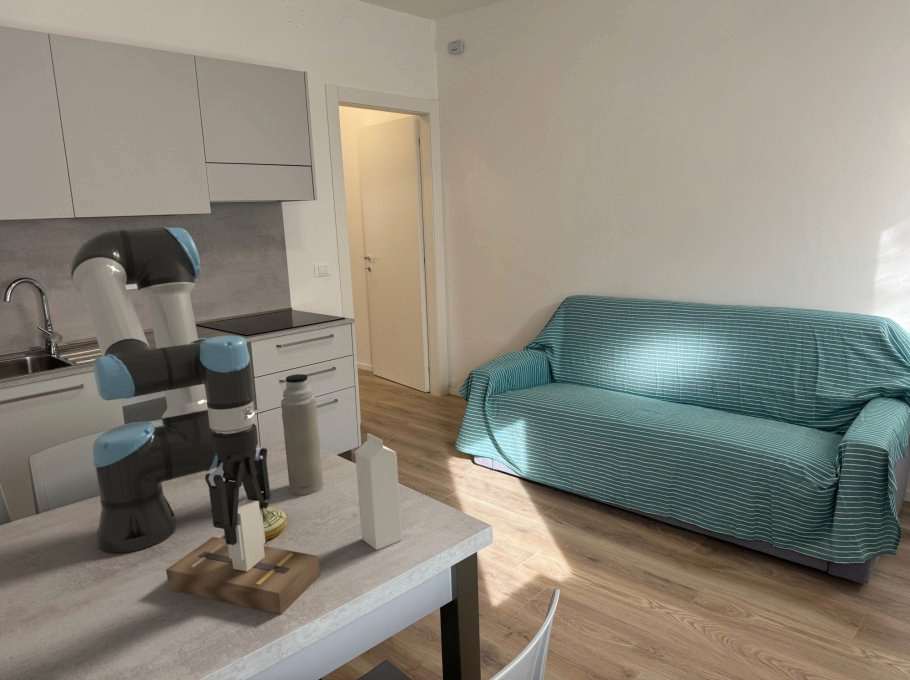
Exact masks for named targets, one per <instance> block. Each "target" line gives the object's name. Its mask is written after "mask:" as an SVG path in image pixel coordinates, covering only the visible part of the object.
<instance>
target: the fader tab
mask: <svg viewBox="0 0 910 680" xmlns="http://www.w3.org/2000/svg"><path fill="white" fill-rule="evenodd" d="M229 520H230V519H229ZM237 524H241V530H242V538H243V547H244V555H245V559H244V560H242V561H241V560H236V559H232V562H233V569H237V570H242V571H249V570H250V569H251V568H252V567H253V566H255V565H256V564H257V563H258V562H259V561H261V560H262V559H263V558H264V557H265V553H264V546H265V545H264V544H265V543H264V544H263V535H262V526H261V517H260V508H259V501H255V500H248V498H245V499H243V500H240V502H238V516H237Z"/></svg>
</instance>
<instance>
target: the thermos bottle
mask: <svg viewBox="0 0 910 680" xmlns="http://www.w3.org/2000/svg"><path fill="white" fill-rule="evenodd" d="M307 380H308V375H307V374H303V373H297V374H292V375H288V376H286V377H285V381H286V382H285V383H286V384H285V387H286V388H285V389H284V390H283V392H282V393H283V394H282V400H281V401H280V405H281V406H280V407H281V415H282V425H283V434H284V435H283V436H284V445H285V455H286V465H287V475H288V484H289V485H288V486H289V492H290V493H292V494H294V495H300V496H303V495H304V496H305V495H310V494H313V493H314V494H315V493H318V492H319V491H320V490H322V489H323V487H324V478H323V477H324V475H323V467H322V459H321V443H320V433H319V432H320V431H319V422H318V420H319V419H318V410H317V408H318V407H317V398H316V397H315V396H314V395H313V394H314V392H313V389H312V387H310V386H308V385H309V384H308V381H307Z"/></svg>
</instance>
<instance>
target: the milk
mask: <svg viewBox="0 0 910 680" xmlns="http://www.w3.org/2000/svg"><path fill="white" fill-rule="evenodd" d="M366 439H367V440H366V441H365V442H363V443H362V444H361V445H360V446H359V447H358V448H357V449H356V450H355V453H354V454H355V466H356V467H355V468H356V478H357V479H356V482H357V493H358V494H357V495H358V504H359V507H358V508H359V518H360V532H361V540H363V542H364V541H365V543H367V544H368V545H369V546H371V547H372V548H373V549H375V550H376V551H378V550H380V549H383V548H385V547H388V546H390V545H391V546H392V545H393V544H396V543H398V542H401V541H402V540H403V539H402V538H403V537H402V522H401V506H400V490H399V477H398V476H399V474H398V473H399V472H398V458H397V452H396V451H395V450H392V449H390V448H389V447H387V446H386V445H384V443H383V440H382V439H380V438H378V437H376V436H374V435H373V434H370V433H366Z"/></svg>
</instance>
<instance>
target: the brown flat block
mask: <svg viewBox="0 0 910 680" xmlns="http://www.w3.org/2000/svg"><path fill="white" fill-rule="evenodd" d="M264 553H265V557H264V558H263V559H262V560H261V561H259V562H258V563H257V564H256V565H255V566H253V567H252V568H251V569H250V570H249V571H242V570H237V569H233V562H232V559H231V558H229V550H228V544H226V541H225V538H222V537H216V536H212V537H210V538H209V539H207V540H206V541H205V542H203V543H202V544H200V545H199V546H197V547H195V549H193V550H192V551H190V552H189V553H187V554H186V555H185V556H183V557H182V558H181V559H179V560H177V561H176V562H175V563H173V564H172V565H171V566H169V567H167V568H166V569H165V570H166V579H167V585H168V590H169V591H174V592H179V593H183V594H188V595H192V596H197V597H199V598H200V597H202V598H204V599H205V598H206V599H210V600H215V601H218V602H223V603H228V604H232V605H236V606H242V607H246V608H250V609H253V610H254V609H255V610H259V611H264V612H268V613H272V614H277V615H282V614H283V613H284V612H285V611H286V610H287V609H288V608H290V606H292V604H293V603H295V601H297V599H298V598H299V597H300V596H301V595H302V594H304V592H306V591H307V589H308V588H309V587H310V586H311V585H313V583H315V581H316V580H317V579H318V578H320V576H321V572H320V571H321V569H320V560H319V555H316V554H311V553H305V552H299V551H293V550H289V549H283V548H277V547H271V546H266V545H264Z"/></svg>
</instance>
